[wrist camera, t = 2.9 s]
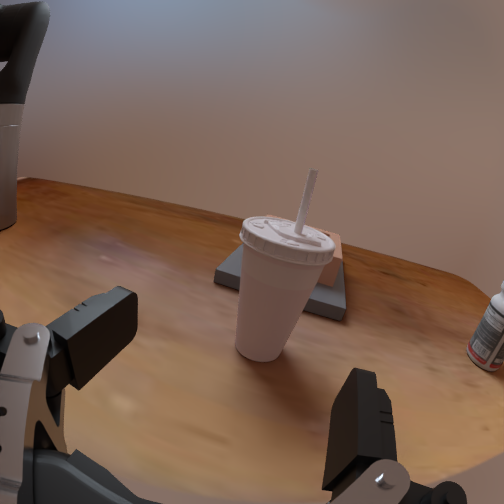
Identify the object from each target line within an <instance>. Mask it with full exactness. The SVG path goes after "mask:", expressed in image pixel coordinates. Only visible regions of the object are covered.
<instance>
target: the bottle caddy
mask: <svg viewBox="0 0 504 504" xmlns="http://www.w3.org/2000/svg"><path fill="white" fill-rule="evenodd" d="M265 217H273V218H279V219H283V218H280V217H276V216H272V215H269V214H268V215H266V216H265ZM285 220H287V219H285ZM289 221H290V220H289ZM293 222H294V221H293ZM306 226H308V225H306ZM308 227H311V226H308ZM311 228H313V229H316V230H318V231H320V232H322V233H323V234H325V235H327V236H328V237H330V238H331V239H332V240H333V242H334V243H335V245H336V247H335V251H334V254H333V259H332V261H331V262H330V263H328V264H326V265H325V266H324V268H323V270H322V272H321V275H320V277H319V279H318V281H317V283H316V285H315V287H314V289H313V291H312V293H311V295H310V297H309V299H308V301H307V303H306V305H305V307H304V309H303V310H305V311H308V312H311V313H315V314H318V315H322V316H325V317H328V318H332V319H335V320H339V321H341V320H342V318H343V315H344V313H345V310H346V300H345V286H344V274H343V263H342V251H341V242H340V235H338V234H334V233H332V232H328V231H325V230H321V229H318V228H315V227H311ZM243 244H244V243H243ZM243 244H242V245H241V246H240V247H238V248H237V249H236V250H235V251H234V252H233V253H232V254H231V255H230V256H229V257H228V258H227V259H226V260H225V261H224V262H223V263H222V264H221V265H220V266H218V267H217V268H216V271H215V276H214V282H216V283H219V284H222V285H225V286H228V287H231V288H234V289H237V290H240V278H241V266H242V264H241V263H242V254H243Z"/></svg>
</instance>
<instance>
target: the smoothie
mask: <svg viewBox="0 0 504 504" xmlns="http://www.w3.org/2000/svg"><path fill="white" fill-rule="evenodd" d="M317 173H318V170H315V169H312V168H310V169H309V173H308V177H307V181H306V185H305V189H304V193H303V197H302V201H301V205H300V209H299V212H298V216H297V220H296V222H293V221H289V220H285V219H279V218H273V217H251V218H248V219H246V220H244V222H243V226H242V230H241V232H240V234H239V236H240V239H241V241H242V242H243V243H244V244H243V254H242V263H241V264H242V266H241V278H240V290H239V302H238V314H237V326H236V339H235V346H236V348H237V350H238V351H239V352H240V353H241V354H242V355H243V356H245V357H246V358H248V359H250V360H253V361H258V362H269V361H272V360H275V359H276V358H277V357H278V356H279V355H280V353H281V351H282V349H283V347H284V346H285V344H286V342H287V340H288V338H289V336H290V334H291V332H292V331H293V329H294V327H295V325H296V323H297V321H298V319H299V317H300V315H301V313H302V311H303V309H304V307H305V305H306V303H307V301H308V299H309V297H310V295H311V293H312V291H313V289H314V287H315V285H316V283H317V281H318V279H319V277H320V275H321V272H322V270H323V268H324V266H325V265H326V264H328V263H330V262H331V261H332V259H333V254H334V251H335V247H336V245H335V243H334V242H333V240H332V239H331V238H330V237H328V236H327V235H325V234H323V233H322V232H320V231H318V230H316V229H313V228H311V227H308V226H306V225H304V223H305V220H306V216H307V212H308V209H309V205H310V201H311V197H312V193H313V189H314V185H315V182H316V178H317Z"/></svg>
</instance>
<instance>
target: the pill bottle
mask: <svg viewBox="0 0 504 504" xmlns="http://www.w3.org/2000/svg"><path fill="white" fill-rule="evenodd" d="M501 287H502V288H501V289H502V290H501V292H500V294H496V295H495V296H493V298H492V299H491V301H490V303H489V305H488V308H487V310H486V312H485V314H484V316H483V318H482V320H481V322H480V323H479V325H478V327H477V329H476V331H475V333H474V335H473V336H472V338H471V340H470V342H469V343H468V345H467V353H468V355H469V357H470V358H471V360H472V361H473V362H474V363H475V364H476V365H478V366H479V367H481V368H483V369H485V370H488V371H495V370H497V369H498V368H499V367H500V366H501V365H502V363H503V361H504V281H503V283H502V285H501Z"/></svg>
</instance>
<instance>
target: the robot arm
mask: <svg viewBox="0 0 504 504" xmlns="http://www.w3.org/2000/svg"><path fill="white" fill-rule="evenodd" d="M49 17H50V8H49V6H48V4H47V3H45V2H30V3H22V4H15V5H9V6H4V5H1V4H0V62H5V61H8V63H7V64H6V66H5V67H4V68H3V69H2V70H1V71H0V230H1V229H4V228H6V227H9V226H10V225H12V224H14V223H15V222H16V220H17V203H16V194H17V164H18V150H19V139H20V130H21V121H22V115H23V109H24V104H25V98H26V94H27V91H28V87H29V84H30V81H31V77H32V73H33V69H34V66H35V62H36V59H37V56H38V53H39V50H40V48H41V45H42V42H43V39H44V36H45V33H46V31H47V27H48V24H49ZM137 326H138V297H137V294H136V293H134V292H132V291H130V290H128V289H125V288H123V287H121V286H117V287H115V288H113V289H112V290H110V291H109V292H107V293H106V294H105V293H102V294H98V295H95V296H91V297H90V298H88V299H87V300H85V301H84V302H82V304H79V305H77V306H76V307H74V309H71V310H70V311H68V312H67V313H65V314H64V315H62V316H60V317H59V318H57V319H56V320H54V321H53V322H51V323H50V324H48V325H47V326H43V325H41V324H38V323H28V324H25V325H22V326H20V327H19V328H17V327H14V326H12V325H9V324H6V323H5V320H4V316H3V313H2V311H1V310H0V504H161V503H157V502H153V501H149V500H145V499H142V498H139V497H137V496H136V495H134V494H133V493H132V492H131V491H130V490H129V489H127V488H126V487H125V486H124V485H123V484H122V483H121V482H120V481H118V480H117V479H116V478H115V477H114V476H113V475H112V474H111V473H110V472H109V471H108V470H107V469H105V468H104V467H102V466H101V465H99V464H97V463H96V462H94V461H93V460H91V459H90V458H88V457H87V456H86V455H84V454H83V453H81V452H80V451H78V450H77V449H76V450H75V451H74V452H73V453H72V455H70V454H68V453H67V447H66V443H65V439H64V407H65V387H66V386H67V385H68V384H70V385H72V386H73V387H75V388H76V389H77V390H80V389H81V388H82V387H83V386H85V385H86V384H87V383H88V382H89V381H90V380H91V379H92V378H93V377H94V376H95V375H96V374H97V373H98V372H99V371H100V370H101V369H102V368H103V367H104V366H106V365H107V364H108V363H109V362H110V361H111V360H112V359H113V358H114V357H115V356H116V355H117V354H118V353H119V352H120V351H121V350H123V349H124V348H125V347H126V346H127V345H128V344H129V343H130V342H131V341H132V340H133V338H134V337H135V335H136V332H137ZM393 423H394V422H393V415H392V406H391V400H390V399H389V397H388V395H387V393H386V392H385V390H384V389H380V388H377V380H376V374H375V372H371V371H367V370H363V369H358V368H353V369H352V371H351V372H350V374H349V376H348V378H347V379H346V381H345V383H344V385H343V386H342V388H341V390H340V392H339V393H338V395H337V397H336V399H335V401H334V403H333V406H332V410H331V418H330V429H329V438H328V447H327V455H326V463H325V470H324V477H323V484H322V490H326V491H332V498H331V500H330V501H329V502H328V503H326V504H467V499H466V494H465V492H464V490H463V489H462V487H461V486H460V485H458V484H457V483H455V482H451V481H445V482H442V483H440V484H439V485H437V486H436V487H435V488H429V487H426V486H423V485H421V484H418V483H415V482H413V481H411V480H410V476H409V474H408V472H407V470H406V469H405V468H404V466H402V465H401V464H400V463H398V462H397V452H396V441H395V431H394V425H393Z"/></svg>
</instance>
